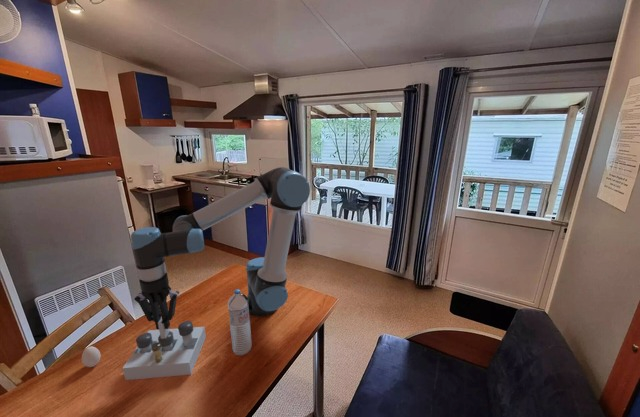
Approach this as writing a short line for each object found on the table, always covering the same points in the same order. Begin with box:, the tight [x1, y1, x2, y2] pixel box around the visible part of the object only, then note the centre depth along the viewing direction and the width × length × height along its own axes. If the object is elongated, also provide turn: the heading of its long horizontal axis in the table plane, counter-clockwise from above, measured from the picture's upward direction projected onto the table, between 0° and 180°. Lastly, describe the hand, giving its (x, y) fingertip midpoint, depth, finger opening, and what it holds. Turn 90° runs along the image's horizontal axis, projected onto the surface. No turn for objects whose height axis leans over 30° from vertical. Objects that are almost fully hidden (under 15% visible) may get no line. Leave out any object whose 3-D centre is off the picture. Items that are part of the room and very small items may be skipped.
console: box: [122, 326, 207, 381], centre depth 91 cm, size 20×16×5 cm
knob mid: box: [158, 331, 174, 351], centre depth 90 cm, size 4×4×7 cm
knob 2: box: [177, 320, 194, 346], centre depth 90 cm, size 4×4×7 cm
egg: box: [81, 345, 101, 368], centre depth 87 cm, size 5×5×7 cm
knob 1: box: [135, 332, 153, 353], centre depth 89 cm, size 4×4×7 cm
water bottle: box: [227, 288, 253, 356], centre depth 92 cm, size 7×7×25 cm
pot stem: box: [151, 342, 163, 363], centre depth 83 cm, size 3×3×6 cm
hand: (165, 335), depth 89 cm, fingers closed
